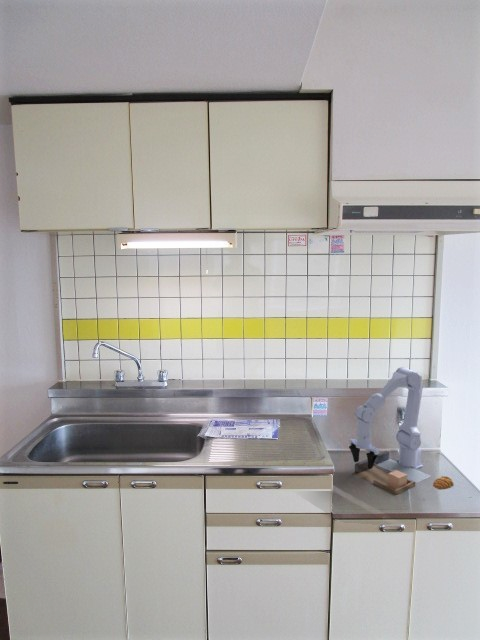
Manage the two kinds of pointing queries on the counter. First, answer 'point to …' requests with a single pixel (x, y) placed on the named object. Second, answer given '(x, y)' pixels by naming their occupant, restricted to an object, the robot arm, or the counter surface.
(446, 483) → the pastry
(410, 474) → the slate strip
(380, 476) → the wooden tray
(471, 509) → the counter surface
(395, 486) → the terracotta block
